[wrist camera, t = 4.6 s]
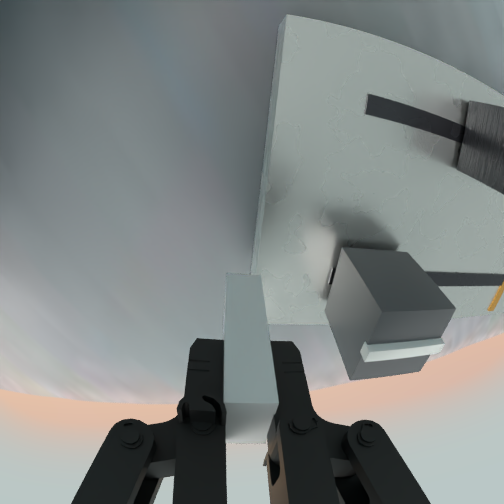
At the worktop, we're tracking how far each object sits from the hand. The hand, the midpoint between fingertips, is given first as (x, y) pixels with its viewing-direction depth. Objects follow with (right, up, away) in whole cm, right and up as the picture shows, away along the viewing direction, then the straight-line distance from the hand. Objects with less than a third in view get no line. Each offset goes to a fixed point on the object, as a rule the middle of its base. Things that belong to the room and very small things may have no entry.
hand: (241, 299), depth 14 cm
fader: (+7, 0, +2) cm, 7 cm away
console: (+16, +5, +3) cm, 17 cm away
